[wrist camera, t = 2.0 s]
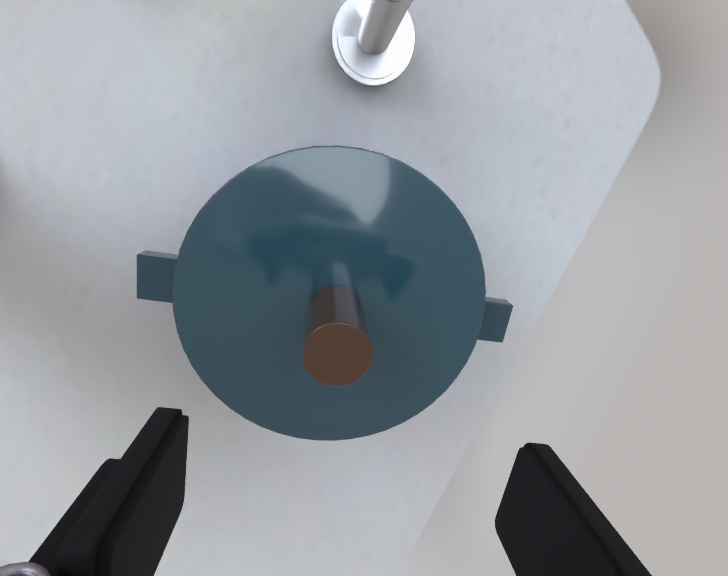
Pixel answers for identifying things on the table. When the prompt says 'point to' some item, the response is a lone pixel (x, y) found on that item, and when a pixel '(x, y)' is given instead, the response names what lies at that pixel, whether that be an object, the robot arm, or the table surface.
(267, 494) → the table surface
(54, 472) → the table surface
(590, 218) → the table surface
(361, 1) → the screw
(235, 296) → the lid
